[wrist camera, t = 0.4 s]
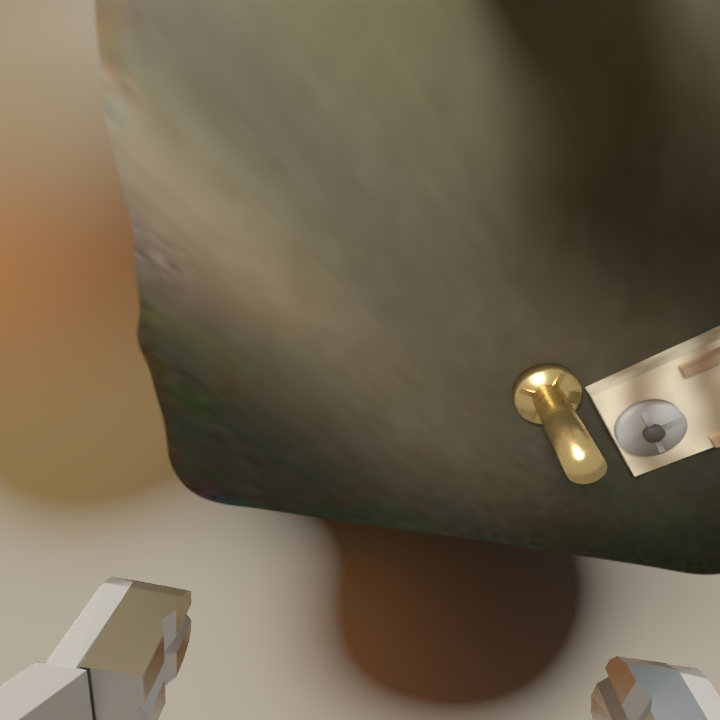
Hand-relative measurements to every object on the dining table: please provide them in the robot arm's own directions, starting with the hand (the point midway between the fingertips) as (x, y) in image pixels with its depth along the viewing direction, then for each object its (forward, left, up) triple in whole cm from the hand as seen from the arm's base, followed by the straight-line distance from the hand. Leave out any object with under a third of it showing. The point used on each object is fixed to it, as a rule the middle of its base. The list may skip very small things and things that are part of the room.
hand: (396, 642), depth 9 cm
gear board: (+6, +37, -39) cm, 54 cm away
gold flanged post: (+12, +21, -39) cm, 46 cm away
